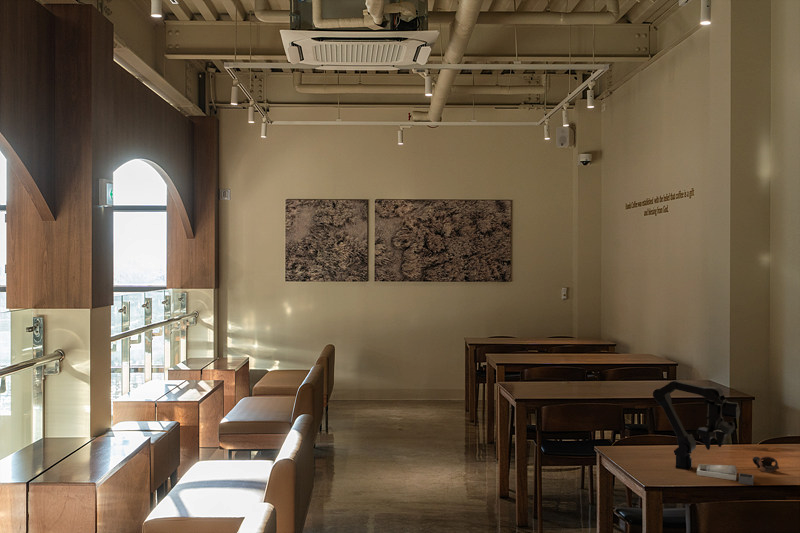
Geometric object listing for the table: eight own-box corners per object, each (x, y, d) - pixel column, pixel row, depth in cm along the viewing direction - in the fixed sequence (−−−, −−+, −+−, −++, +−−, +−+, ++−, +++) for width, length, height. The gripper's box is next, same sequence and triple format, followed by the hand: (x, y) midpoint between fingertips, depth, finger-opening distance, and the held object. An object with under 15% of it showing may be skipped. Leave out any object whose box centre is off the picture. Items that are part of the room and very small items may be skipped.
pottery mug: (782, 472, 316) (783, 460, 312) (772, 485, 312) (773, 472, 308) (756, 460, 325) (757, 448, 321) (746, 472, 321) (746, 459, 317)
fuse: (705, 467, 311) (731, 469, 301) (708, 462, 314) (734, 463, 304) (708, 474, 312) (734, 475, 302) (711, 469, 314) (737, 470, 304)
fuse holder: (738, 485, 296) (738, 476, 296) (738, 481, 302) (739, 472, 301) (753, 487, 294) (753, 478, 294) (753, 483, 299) (753, 474, 299)
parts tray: (696, 477, 308) (696, 470, 308) (698, 470, 319) (698, 463, 319) (735, 482, 300) (736, 475, 300) (736, 475, 311) (736, 468, 311)
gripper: (719, 420, 301) (718, 455, 301) (742, 415, 311) (742, 449, 311) (696, 415, 310) (695, 449, 310) (719, 410, 321) (719, 443, 321)
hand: (714, 448), depth 313 cm, fingers open, 9 cm apart
